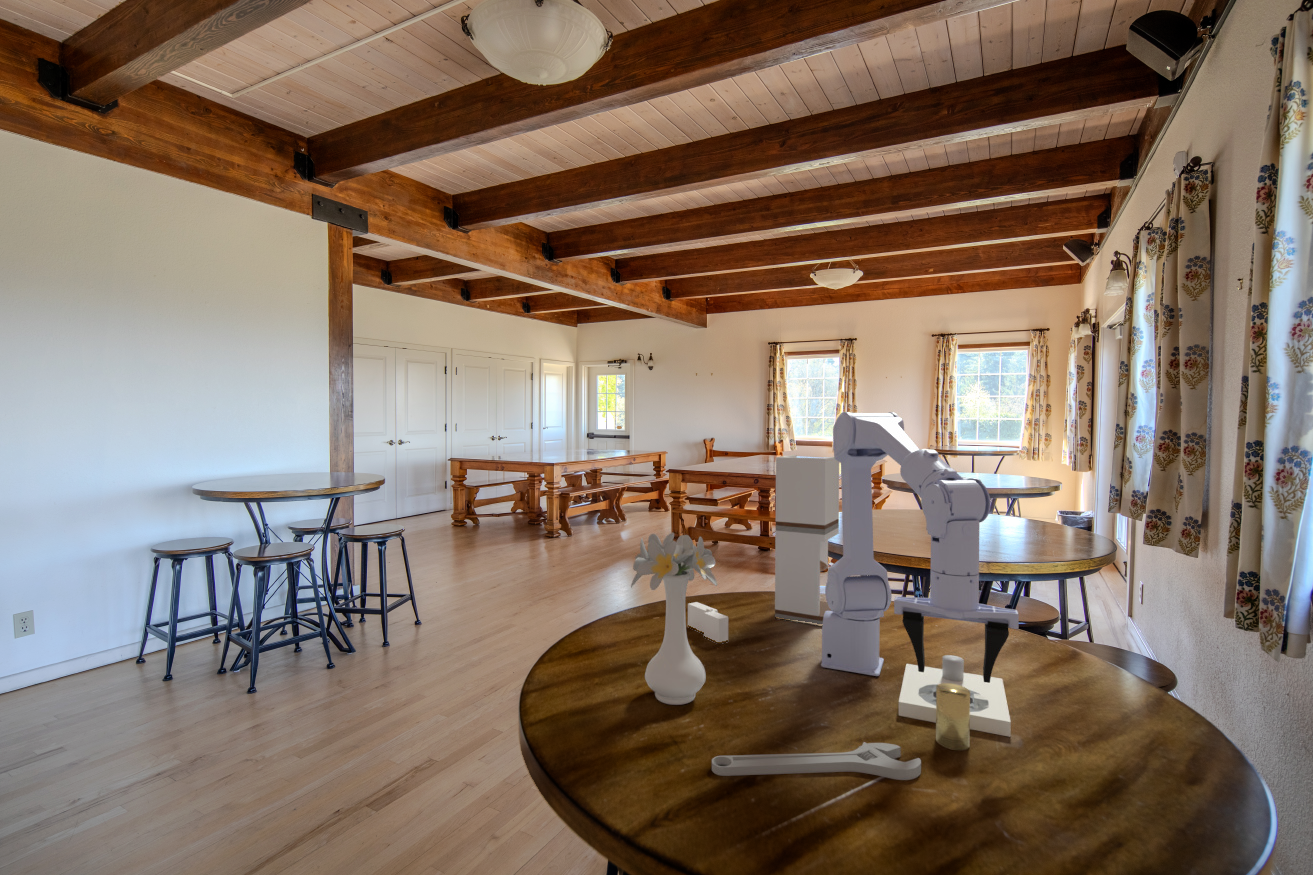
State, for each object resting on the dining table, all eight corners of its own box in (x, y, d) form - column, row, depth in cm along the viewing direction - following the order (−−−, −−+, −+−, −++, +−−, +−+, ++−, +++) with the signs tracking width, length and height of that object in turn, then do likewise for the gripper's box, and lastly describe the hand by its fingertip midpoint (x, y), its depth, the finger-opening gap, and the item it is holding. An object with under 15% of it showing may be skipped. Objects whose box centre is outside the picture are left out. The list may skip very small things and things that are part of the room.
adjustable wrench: (712, 780, 73) (712, 765, 73) (709, 752, 80) (709, 738, 80) (926, 783, 73) (926, 768, 73) (905, 754, 79) (905, 740, 79)
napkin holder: (679, 624, 131) (679, 597, 131) (733, 626, 130) (733, 599, 130) (675, 650, 116) (676, 619, 116) (736, 651, 115) (737, 621, 115)
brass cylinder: (935, 745, 80) (935, 692, 80) (936, 732, 84) (936, 681, 84) (969, 752, 79) (970, 698, 79) (969, 738, 82) (969, 686, 82)
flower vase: (706, 670, 105) (707, 523, 105) (723, 722, 87) (724, 544, 86) (629, 671, 104) (630, 524, 104) (630, 724, 86) (631, 544, 86)
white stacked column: (823, 626, 129) (825, 458, 128) (774, 618, 134) (775, 457, 134) (838, 612, 138) (839, 456, 138) (791, 605, 144) (792, 455, 143)
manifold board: (898, 715, 89) (898, 680, 89) (906, 675, 103) (906, 645, 103) (1010, 736, 83) (1011, 699, 83) (1002, 691, 97) (1002, 659, 97)
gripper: (892, 571, 81) (891, 675, 81) (1021, 584, 74) (1020, 696, 74) (897, 561, 87) (896, 657, 87) (1016, 571, 81) (1014, 675, 81)
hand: (953, 674), depth 81 cm, fingers open, 7 cm apart
